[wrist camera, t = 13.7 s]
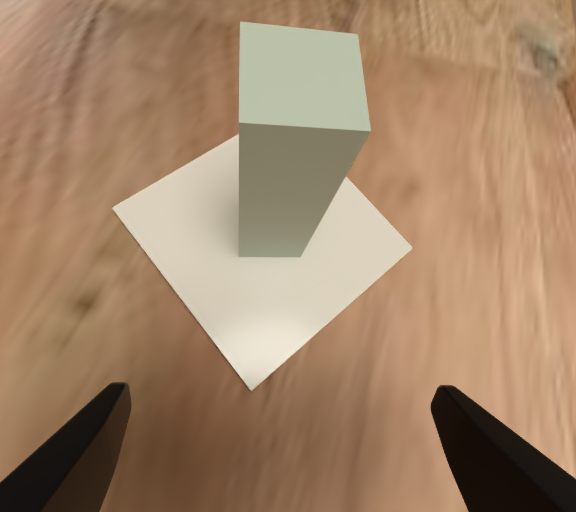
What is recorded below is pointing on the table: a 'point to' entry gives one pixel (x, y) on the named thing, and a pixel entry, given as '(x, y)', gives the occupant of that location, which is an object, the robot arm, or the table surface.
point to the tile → (256, 261)
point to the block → (295, 132)
